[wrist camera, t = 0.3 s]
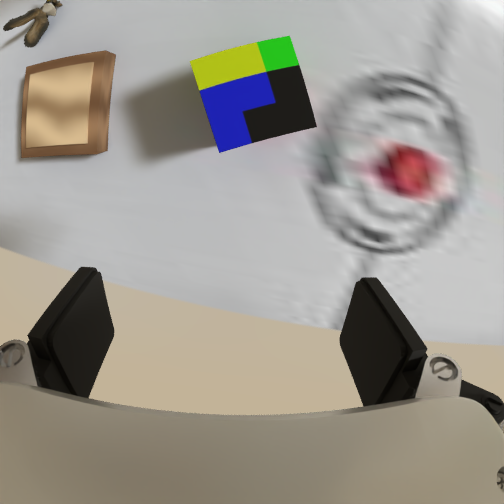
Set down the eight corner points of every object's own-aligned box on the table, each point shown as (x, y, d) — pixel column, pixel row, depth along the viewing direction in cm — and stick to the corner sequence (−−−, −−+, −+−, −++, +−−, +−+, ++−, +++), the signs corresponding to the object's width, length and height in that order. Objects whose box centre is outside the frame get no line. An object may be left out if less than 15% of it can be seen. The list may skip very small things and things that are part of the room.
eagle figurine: (46, -11, 20) (5, 29, 21) (41, -18, 16) (-5, 29, 17) (70, 13, 27) (30, 52, 27) (68, 9, 23) (23, 55, 23)
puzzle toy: (223, 144, 37) (219, 152, 28) (201, 75, 32) (189, 61, 23) (297, 124, 36) (316, 126, 27) (276, 55, 31) (289, 35, 22)
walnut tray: (39, 68, 28) (24, 66, 25) (115, 54, 29) (104, 49, 26) (34, 153, 34) (19, 158, 30) (107, 150, 35) (95, 154, 32)
